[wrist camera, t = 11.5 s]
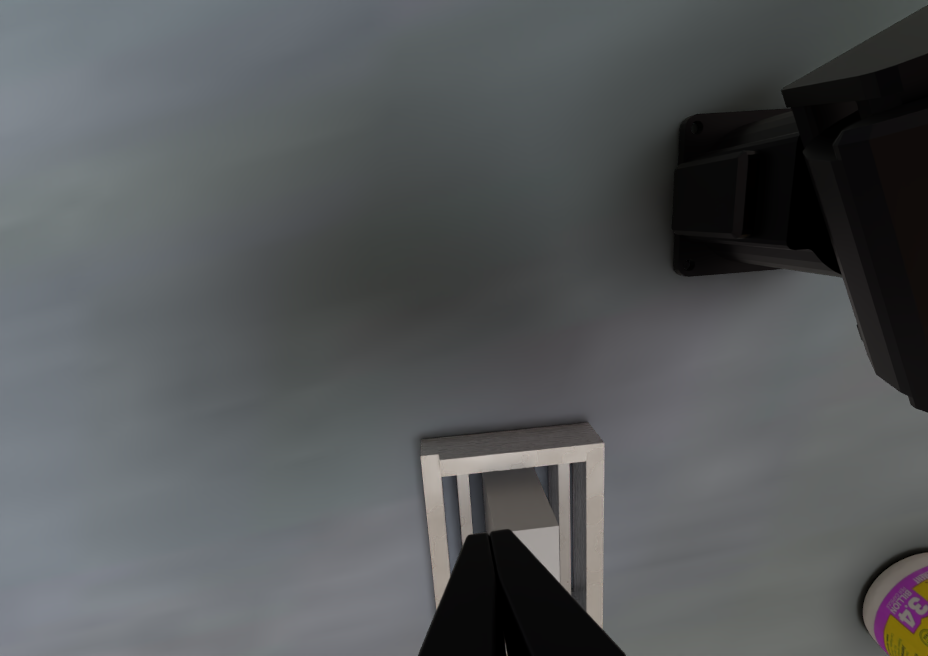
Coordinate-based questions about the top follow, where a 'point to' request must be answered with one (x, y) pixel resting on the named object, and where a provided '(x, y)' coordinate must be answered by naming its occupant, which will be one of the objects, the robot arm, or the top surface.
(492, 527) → the grey filler panel
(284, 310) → the top surface
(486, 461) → the rack
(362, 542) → the top surface
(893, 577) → the supplement bottle
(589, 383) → the top surface
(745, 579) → the top surface
